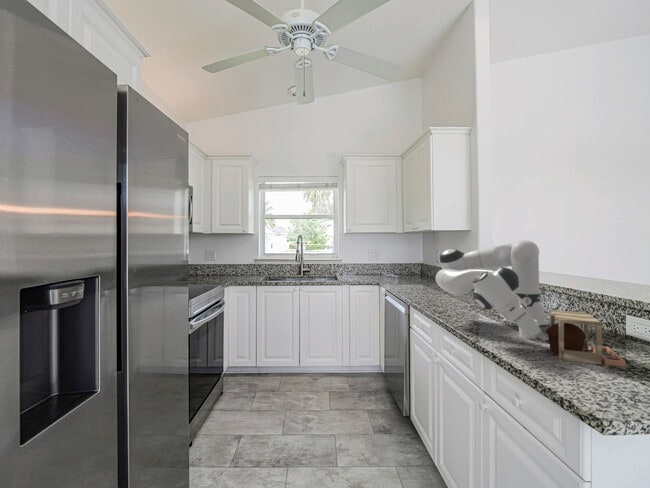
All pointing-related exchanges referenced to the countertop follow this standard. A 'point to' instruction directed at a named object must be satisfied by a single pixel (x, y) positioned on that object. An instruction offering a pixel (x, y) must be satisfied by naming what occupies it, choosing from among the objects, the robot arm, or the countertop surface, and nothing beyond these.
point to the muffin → (566, 337)
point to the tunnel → (585, 320)
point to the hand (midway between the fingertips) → (545, 339)
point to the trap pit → (610, 357)
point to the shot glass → (526, 335)
